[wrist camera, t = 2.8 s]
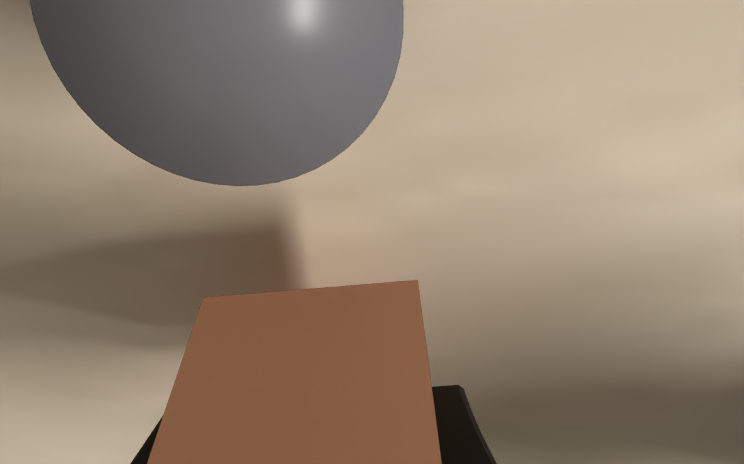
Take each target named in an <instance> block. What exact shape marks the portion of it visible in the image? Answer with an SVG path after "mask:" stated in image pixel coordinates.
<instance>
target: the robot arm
mask: <svg viewBox="0 0 744 464" xmlns="http://www.w3.org/2000/svg"><path fill="white" fill-rule="evenodd" d="M432 393H433V401H434V408H435V416H436V424H437V431H438V439H439V446H440V454H441V462H442V464H497V463H496V461H495V460H494V458H493V456H492V454H491V452H490V450H489V448H488V446H487V444H486V442H485V440H484V438H483V436H482V433H481V431H480V429H479V427H478V425H477V423H476V420H475V418H474V416H473V413H472V411H471V408H470V406H469V403H468V400H467V398H466V395H465V391H464V389H463V388H462V387H460V386H459V385H452V386H438V387H432ZM162 418H163V416H162ZM162 418H161V419H160V421H159V422H158V424H157V425H156V427H155V428H154V430H153V431H152V433H151V434H150V436H149V437H148V439H147V440H146V442H145V443H144V445H143V446H142V448H141V449H140V450H139V452H138V453H137V455H136V456H135V458H134V459H133V461H132V462H131V464H147V462H148V459H149V456H150V453H151V450H152V447H153V445H154V442H155V439H156V436H157V433H158V430H159V427H160V424H161V421H162Z"/></svg>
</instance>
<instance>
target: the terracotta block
mask: <svg viewBox="0 0 744 464" xmlns="http://www.w3.org/2000/svg"><path fill="white" fill-rule="evenodd" d="M147 464H442V462H441V454H440V446H439V439H438V431H437V424H436V416H435V408H434V401H433V393H432V385H431V378H430V370H429V362H428V355H427V347H426V340H425V332H424V324H423V317H422V309H421V301H420V294H419V286H418V280H413V281H400V282H388V283H376V284H363V285H351V286H339V287H326V288H314V289H302V290H289V291H277V292H265V293H252V294H240V295H228V296H215V297H203V300H202V303H201V306H200V309H199V312H198V315H197V318H196V321H195V324H194V327H193V330H192V333H191V335H190V338H189V341H188V344H187V347H186V350H185V353H184V356H183V359H182V362H181V365H180V368H179V371H178V374H177V377H176V380H175V383H174V386H173V389H172V391H171V394H170V397H169V400H168V403H167V406H166V409H165V412H164V415H163V418H162V421H161V424H160V427H159V430H158V433H157V436H156V439H155V442H154V445H153V447H152V450H151V453H150V456H149V459H148V462H147Z"/></svg>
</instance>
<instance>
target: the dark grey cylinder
mask: <svg viewBox="0 0 744 464" xmlns="http://www.w3.org/2000/svg"><path fill="white" fill-rule="evenodd" d="M30 4H31V9H32V14H33V18H34V22H35V25H36V28H37V31H38V34H39V37H40V40H41V43H42V45H43V47H44V50H45V52H46V54H47V56H48V58H49V60H50V62H51V65H52V67H53V68H54V70H55V72H56V73H57V75H58V77H59V78H60V80H61V82H62V83H63V85H64V87H65V88H66V90H67V91H68V92H69V93H70V95H71V96H72V97H73V99H74V100H75V101H76V103H77V104H78V105H79V107H80V108H81V109H82V110H83V111H84V112H85V113H86V114H87V115H88V116H89V117H90V118H91V119H92V121H93V122H94V123H95V124H96V125H97V126H98V127H100V128H101V129H102V130H103V131H104V132H105V133H106V134H108V135H109V136H110V137H111V138H112V139H113V140H115V141H116V142H117V143H119V144H120V145H122V146H123V147H125V148H126V149H127V150H129V151H130V152H132V153H133V154H135V155H136V156H138V157H140V158H142V159H144V160H145V161H147V162H149V163H151V164H153V165H155V166H157V167H159V168H162V169H164V170H166V171H169V172H171V173H173V174H176V175H180V176H183V177H186V178H189V179H193V180H196V181H201V182H207V183H212V184H218V185H231V186H251V185H263V184H269V183H276V182H280V181H284V180H287V179H291V178H295V177H298V176H300V175H302V174H305V173H307V172H310V171H312V170H315V169H316V168H318V167H320V166H322V165H323V164H325V163H327V162H329V161H330V160H332V159H333V158H335V157H336V156H337V155H339V154H340V153H341V152H343V151H344V150H345V149H347V148H348V147H349V146H350V145H351V144H352V143H353V142H354V141H355V140H356V139H357V138H358V137H359V136H360V135H361V134H362V133H363V132H364V131H365V129H366V128H367V127H368V125H369V124H370V123H371V122H372V120H373V119H374V118H375V116H376V115H377V113H378V111H379V109H380V108H381V106H382V104H383V102H384V101H385V99H386V97H387V95H388V92H389V90H390V87H391V85H392V82H393V80H394V77H395V74H396V70H397V66H398V63H399V59H400V54H401V47H402V39H403V0H30Z"/></svg>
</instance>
